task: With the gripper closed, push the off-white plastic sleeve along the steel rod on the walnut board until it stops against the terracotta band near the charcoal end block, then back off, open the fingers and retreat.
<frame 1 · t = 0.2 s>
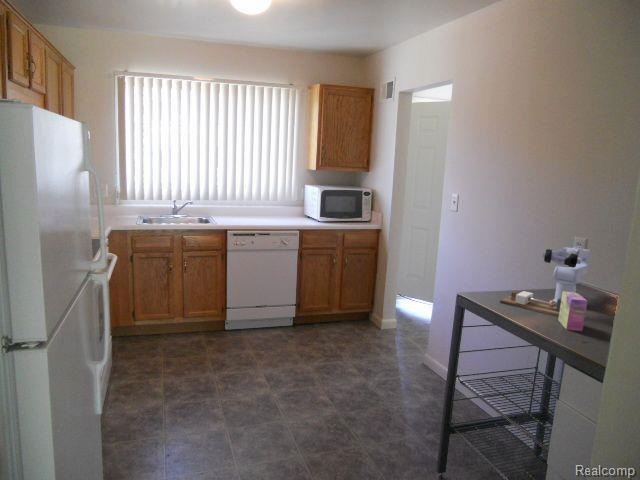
hand: (555, 259, 191), 22 cm above the table, tool horizontal, fingers open, 7 cm apart
guide rod: (537, 300, 198), point 2 cm above the table
stop band: (551, 303, 195), point 2 cm above the table
sleeve: (524, 297, 202), point 3 cm above the table, slide at 0.0 cm
end block: (562, 305, 192), point 4 cm above the table
box: (570, 326, 178), on the table
guide board: (535, 307, 199), on the table
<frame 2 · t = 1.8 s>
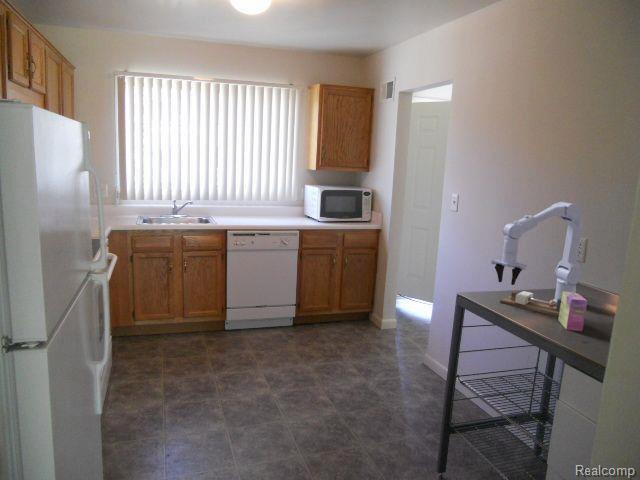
hand: (506, 283, 203), 8 cm above the table, tool pointing down, fingers open, 5 cm apart
nothing on the table moved.
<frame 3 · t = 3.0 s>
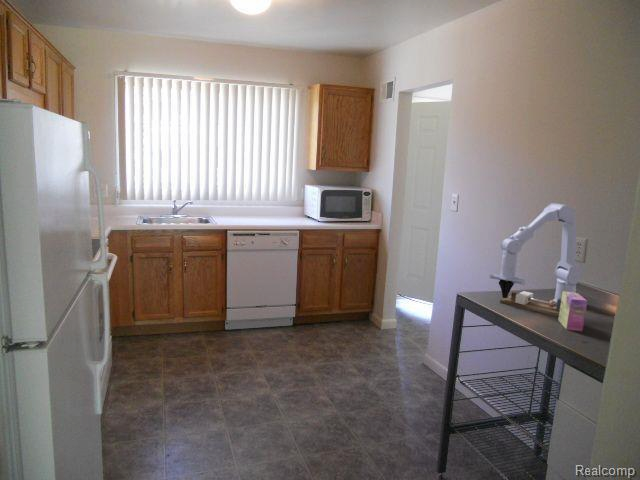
hand: (504, 297, 204), 2 cm above the table, tool pointing down, fingers closed
nothing on the table moved.
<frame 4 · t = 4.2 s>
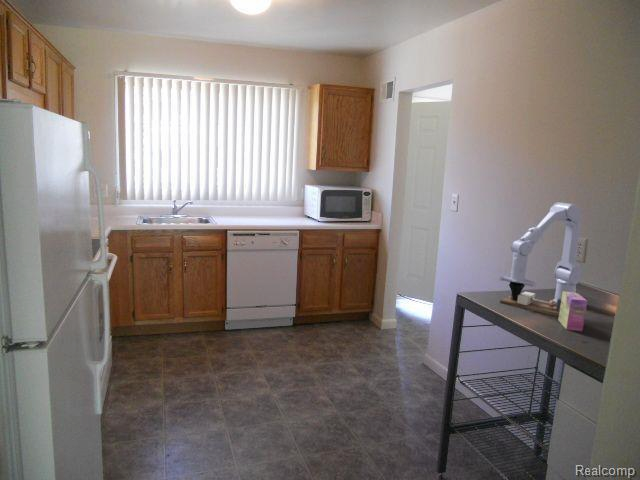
hand: (515, 300, 201), 2 cm above the table, tool pointing down, fingers closed
sleeve: (526, 298, 201), point 3 cm above the table, slide at 0.8 cm, touching gripper
everything else where it was.
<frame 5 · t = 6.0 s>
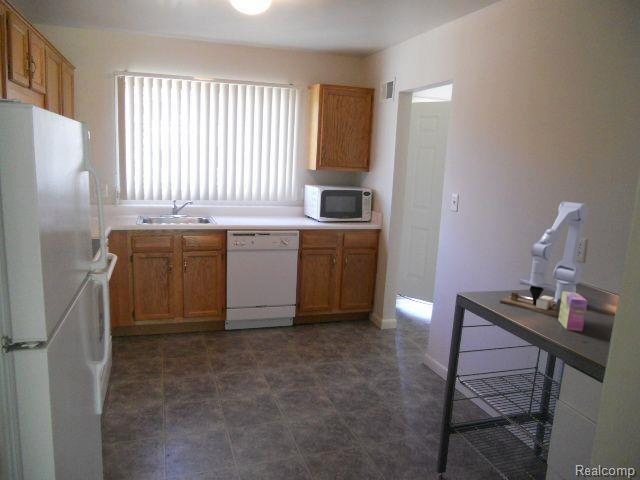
hand: (534, 304, 196), 2 cm above the table, tool pointing down, fingers closed
sleeve: (545, 302, 196), point 3 cm above the table, slide at 8.4 cm, touching gripper, stop band
everything else where it was.
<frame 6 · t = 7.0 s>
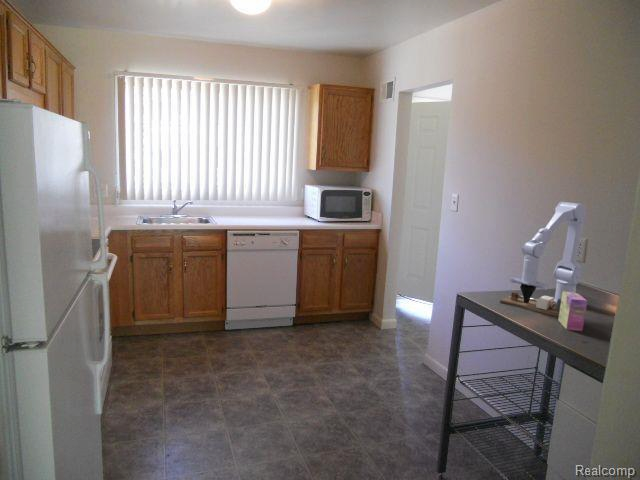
hand: (526, 302, 198), 2 cm above the table, tool pointing down, fingers closed
sleeve: (545, 302, 196), point 3 cm above the table, slide at 8.4 cm, touching stop band
everything else where it was.
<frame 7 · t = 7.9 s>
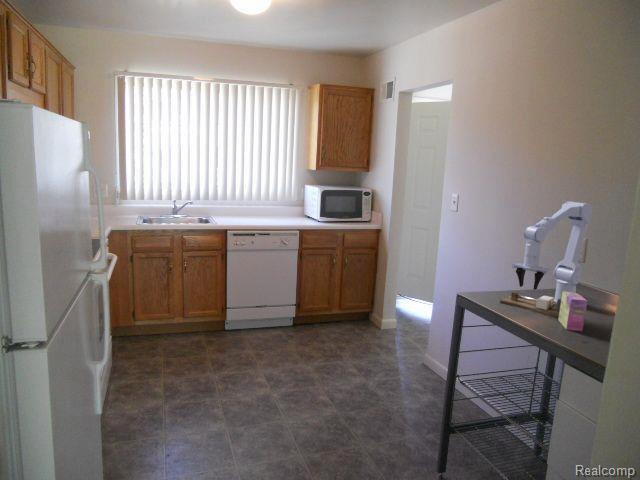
hand: (528, 287, 197), 8 cm above the table, tool pointing down, fingers open, 5 cm apart
nothing on the table moved.
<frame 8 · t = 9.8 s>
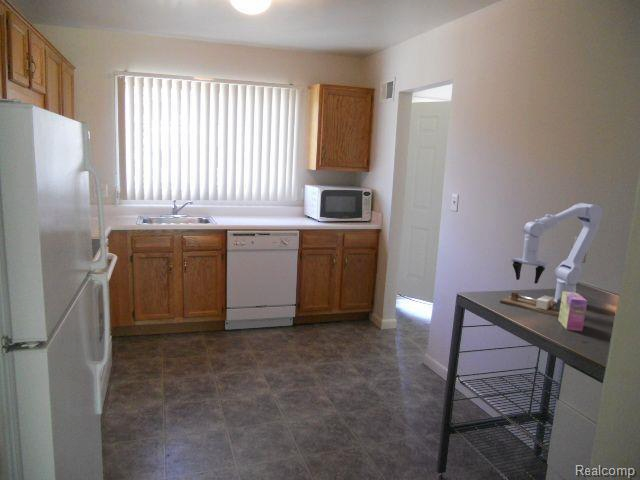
hand: (526, 281, 204), 9 cm above the table, tool pointing down, fingers open, 7 cm apart
nothing on the table moved.
at the end: sleeve slide at 8.4 cm; the gripper is holding nothing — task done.
